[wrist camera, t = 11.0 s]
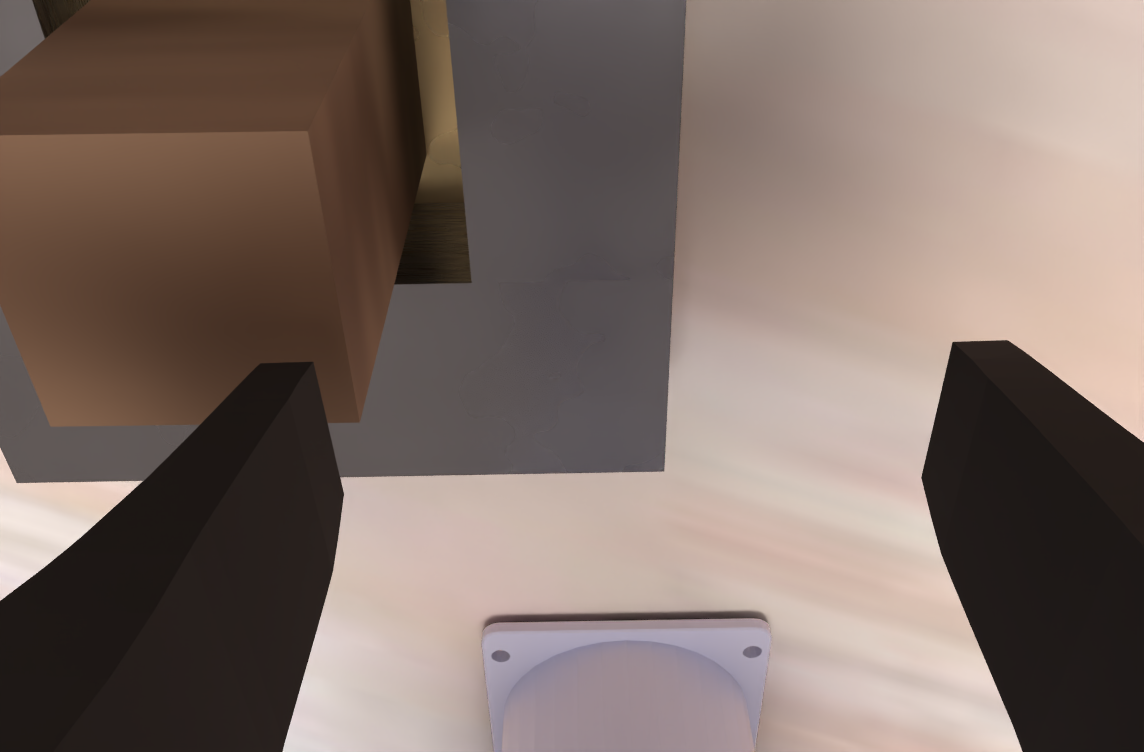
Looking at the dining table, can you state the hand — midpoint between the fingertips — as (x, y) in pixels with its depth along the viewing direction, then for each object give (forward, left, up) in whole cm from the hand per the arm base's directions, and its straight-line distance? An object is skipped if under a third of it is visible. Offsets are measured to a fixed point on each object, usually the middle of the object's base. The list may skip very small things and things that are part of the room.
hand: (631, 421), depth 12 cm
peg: (+1, +5, -9) cm, 11 cm away
